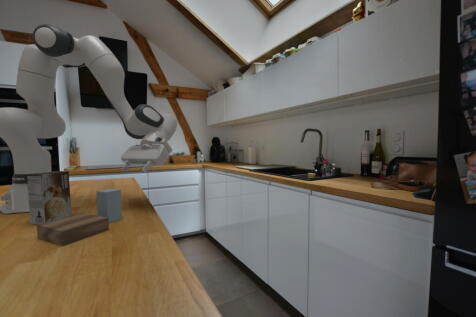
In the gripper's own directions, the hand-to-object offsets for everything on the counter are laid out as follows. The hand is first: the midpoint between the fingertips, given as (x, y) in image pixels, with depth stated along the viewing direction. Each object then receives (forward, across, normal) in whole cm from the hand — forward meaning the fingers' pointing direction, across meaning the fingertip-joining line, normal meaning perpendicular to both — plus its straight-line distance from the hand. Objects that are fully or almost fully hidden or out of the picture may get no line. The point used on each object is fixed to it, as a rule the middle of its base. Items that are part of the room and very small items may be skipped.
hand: (133, 171), depth 84 cm
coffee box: (+24, -18, -2) cm, 30 cm away
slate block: (+18, 0, +4) cm, 18 cm away
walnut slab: (+27, +2, -4) cm, 27 cm away
